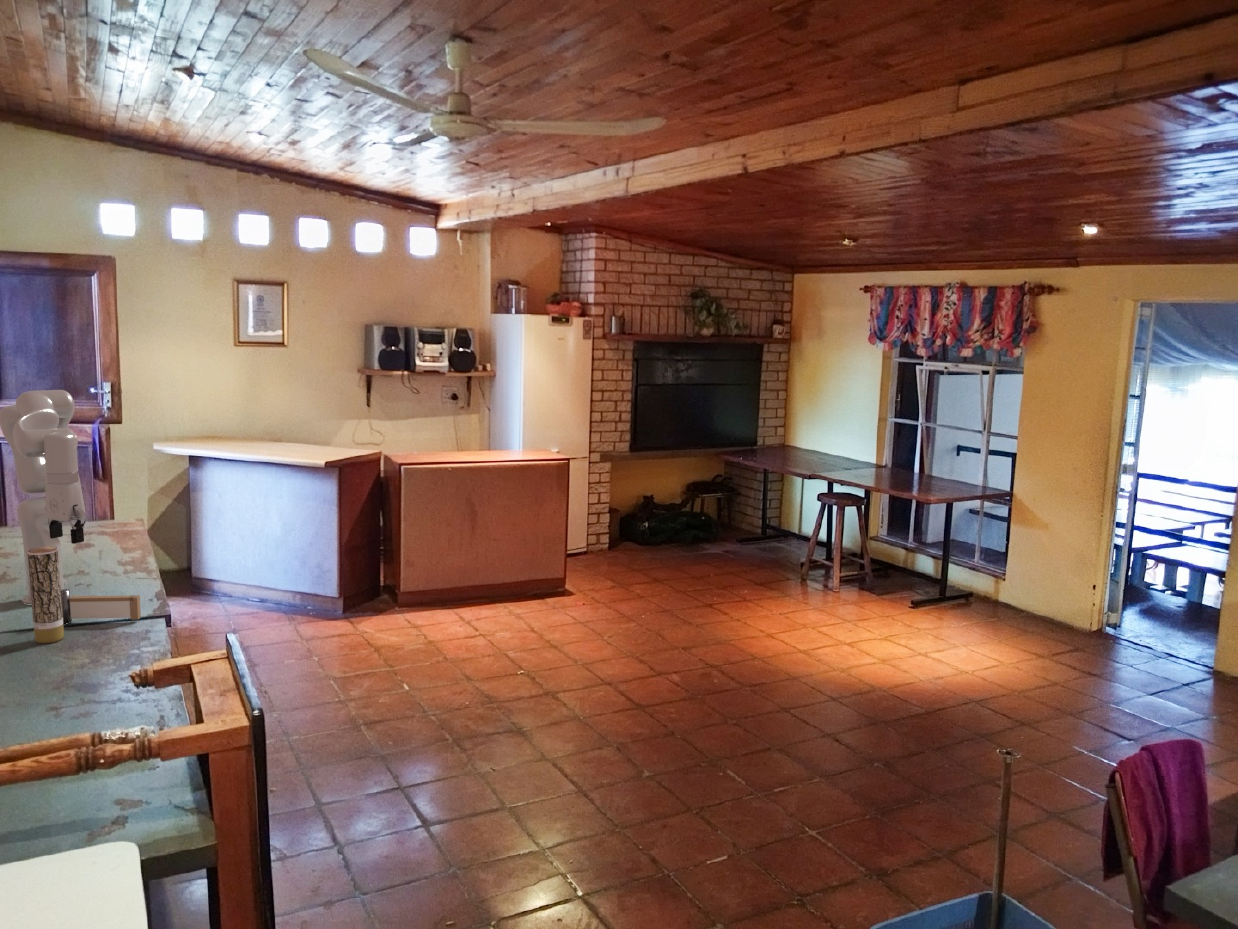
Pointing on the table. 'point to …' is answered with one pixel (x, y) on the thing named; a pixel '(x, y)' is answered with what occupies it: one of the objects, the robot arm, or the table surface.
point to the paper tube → (45, 594)
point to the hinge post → (66, 605)
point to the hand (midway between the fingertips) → (67, 540)
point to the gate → (105, 607)
